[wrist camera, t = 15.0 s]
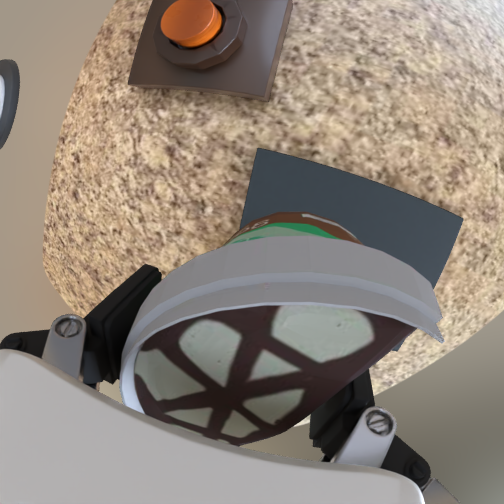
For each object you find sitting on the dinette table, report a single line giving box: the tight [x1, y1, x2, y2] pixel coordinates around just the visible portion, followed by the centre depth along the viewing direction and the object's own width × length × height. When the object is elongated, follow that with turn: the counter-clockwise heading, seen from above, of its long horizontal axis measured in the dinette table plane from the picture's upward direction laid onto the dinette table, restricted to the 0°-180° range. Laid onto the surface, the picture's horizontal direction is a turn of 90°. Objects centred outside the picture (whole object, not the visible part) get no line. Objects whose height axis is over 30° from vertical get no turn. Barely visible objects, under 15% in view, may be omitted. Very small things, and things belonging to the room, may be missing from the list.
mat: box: [239, 148, 463, 351], centre depth 24 cm, size 20×16×1 cm
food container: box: [119, 212, 444, 447], centre depth 11 cm, size 12×6×10 cm, turn 145°
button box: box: [128, 0, 293, 102], centre depth 16 cm, size 12×10×4 cm
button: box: [161, 0, 223, 48], centre depth 14 cm, size 4×4×2 cm
